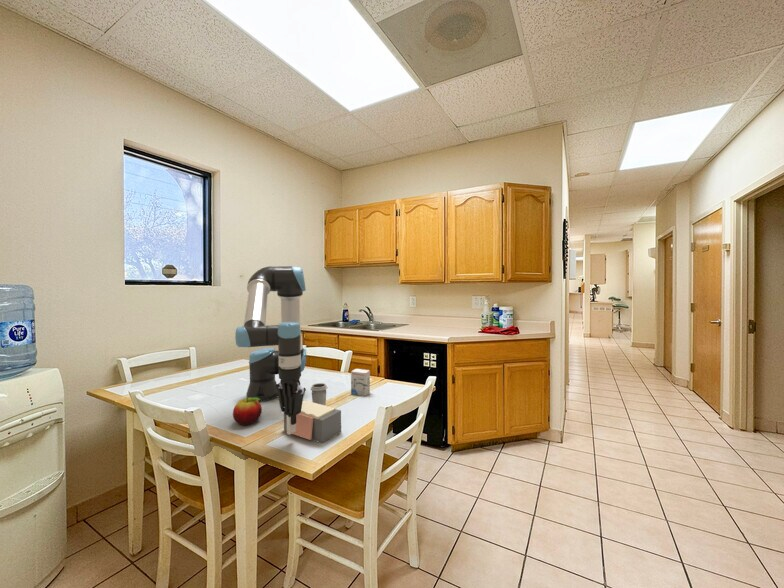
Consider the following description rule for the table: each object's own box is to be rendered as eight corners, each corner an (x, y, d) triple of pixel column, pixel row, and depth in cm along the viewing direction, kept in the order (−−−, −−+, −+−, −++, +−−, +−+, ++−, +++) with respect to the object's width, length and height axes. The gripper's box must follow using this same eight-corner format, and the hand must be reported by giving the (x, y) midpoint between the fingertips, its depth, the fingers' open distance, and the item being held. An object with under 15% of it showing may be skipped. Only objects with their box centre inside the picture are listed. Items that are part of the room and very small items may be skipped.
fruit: (241, 416, 138) (240, 393, 137) (266, 416, 137) (266, 393, 137) (227, 428, 127) (226, 402, 126) (255, 428, 127) (254, 403, 126)
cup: (312, 416, 137) (311, 388, 136) (309, 411, 143) (309, 384, 142) (329, 413, 140) (328, 386, 139) (325, 408, 146) (325, 381, 145)
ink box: (350, 394, 164) (350, 370, 163) (355, 390, 168) (355, 368, 168) (365, 396, 161) (365, 372, 160) (370, 393, 165) (370, 370, 165)
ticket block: (284, 429, 125) (283, 406, 125) (303, 420, 134) (303, 398, 133) (322, 443, 115) (322, 417, 114) (341, 431, 123) (340, 408, 123)
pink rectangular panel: (288, 431, 122) (286, 431, 121) (290, 410, 123) (288, 411, 122) (311, 439, 116) (309, 439, 115) (313, 417, 116) (312, 418, 116)
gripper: (268, 366, 114) (270, 432, 115) (294, 371, 108) (296, 441, 109) (285, 361, 121) (286, 424, 122) (311, 366, 114) (312, 432, 115)
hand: (291, 432), depth 115 cm, fingers closed
